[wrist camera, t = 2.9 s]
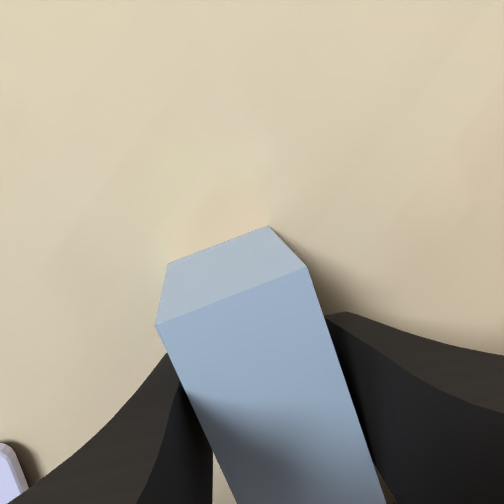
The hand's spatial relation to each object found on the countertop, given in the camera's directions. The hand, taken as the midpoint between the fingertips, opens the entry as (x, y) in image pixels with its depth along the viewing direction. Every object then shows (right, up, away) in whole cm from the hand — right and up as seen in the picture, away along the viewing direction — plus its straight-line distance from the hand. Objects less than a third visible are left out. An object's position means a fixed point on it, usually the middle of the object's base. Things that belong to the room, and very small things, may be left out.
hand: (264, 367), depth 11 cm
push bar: (+1, -3, +2) cm, 4 cm away
